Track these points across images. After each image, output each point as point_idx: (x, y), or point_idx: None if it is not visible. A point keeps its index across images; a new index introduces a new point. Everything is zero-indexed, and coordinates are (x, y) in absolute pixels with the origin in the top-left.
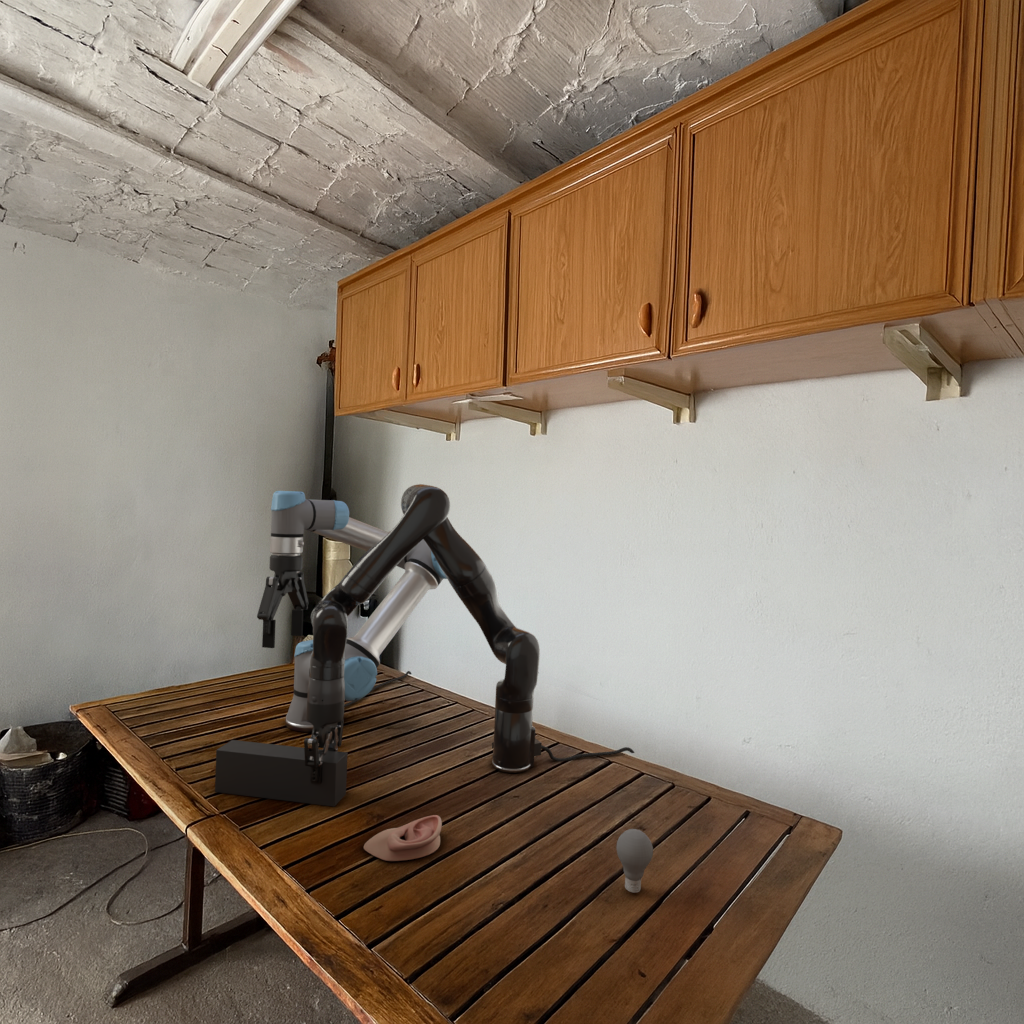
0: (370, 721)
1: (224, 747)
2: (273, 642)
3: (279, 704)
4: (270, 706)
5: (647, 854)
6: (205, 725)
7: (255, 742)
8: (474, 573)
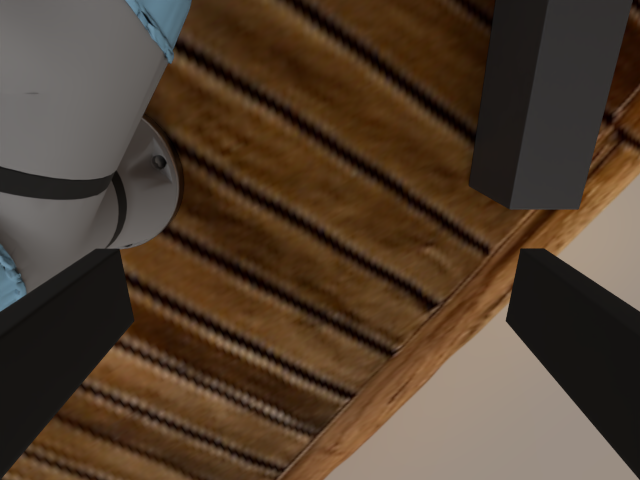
0: None
1: (563, 199)
2: (564, 265)
3: None
4: None
5: None
6: (225, 378)
7: (523, 140)
8: None
